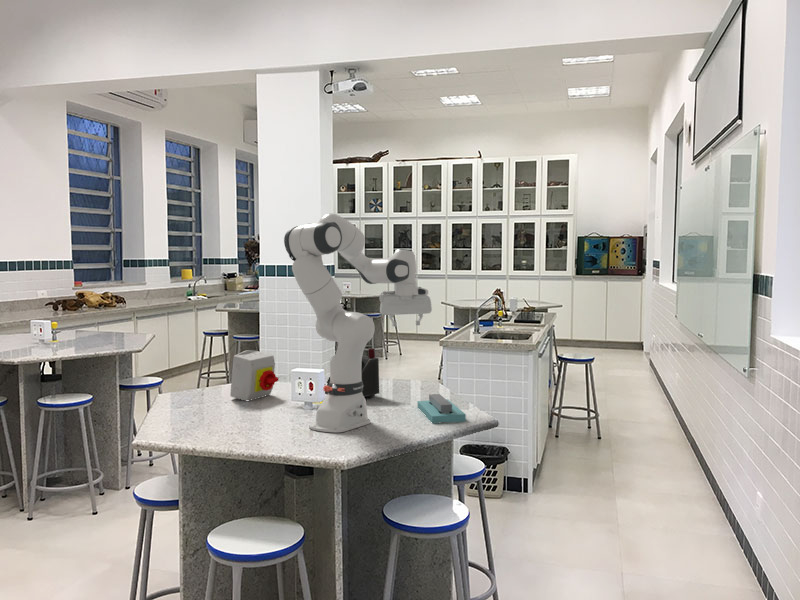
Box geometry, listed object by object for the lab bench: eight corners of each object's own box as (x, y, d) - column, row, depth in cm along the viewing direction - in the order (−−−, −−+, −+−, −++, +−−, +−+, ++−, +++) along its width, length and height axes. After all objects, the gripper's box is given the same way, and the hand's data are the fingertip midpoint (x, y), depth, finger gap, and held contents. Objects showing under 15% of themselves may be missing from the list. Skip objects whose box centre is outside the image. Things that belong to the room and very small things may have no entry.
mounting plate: (465, 421, 222) (465, 414, 222) (432, 423, 220) (432, 416, 220) (447, 405, 246) (447, 399, 246) (417, 407, 244) (417, 401, 243)
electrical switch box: (256, 408, 256) (260, 360, 254) (229, 399, 264) (233, 352, 261) (280, 401, 269) (284, 355, 266) (254, 392, 276) (258, 347, 274)
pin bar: (452, 419, 224) (451, 404, 224) (441, 420, 224) (440, 405, 223) (439, 408, 242) (439, 393, 242) (429, 408, 241) (429, 394, 241)
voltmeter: (324, 397, 265) (323, 349, 264) (355, 391, 276) (354, 345, 275) (348, 403, 253) (346, 353, 252) (379, 396, 264) (378, 349, 263)
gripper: (380, 292, 245) (381, 327, 246) (432, 290, 248) (432, 325, 249) (378, 291, 251) (378, 325, 252) (428, 289, 254) (429, 323, 255)
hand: (406, 325), depth 250 cm, fingers open, 8 cm apart
